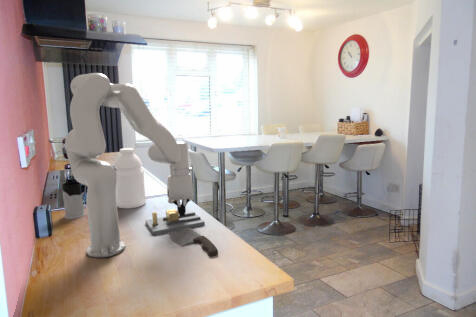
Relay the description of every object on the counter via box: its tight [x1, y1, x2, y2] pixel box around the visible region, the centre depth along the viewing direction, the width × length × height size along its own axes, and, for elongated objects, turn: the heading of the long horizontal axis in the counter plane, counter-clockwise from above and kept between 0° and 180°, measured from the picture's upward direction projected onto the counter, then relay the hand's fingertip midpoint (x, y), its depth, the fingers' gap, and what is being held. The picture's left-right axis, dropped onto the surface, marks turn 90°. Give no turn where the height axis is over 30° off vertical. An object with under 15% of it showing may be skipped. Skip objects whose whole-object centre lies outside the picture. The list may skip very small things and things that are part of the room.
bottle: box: [113, 147, 146, 209], centre depth 171 cm, size 14×14×28 cm
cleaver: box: [167, 227, 219, 257], centre depth 127 cm, size 29×10×2 cm, turn 34°
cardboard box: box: [165, 208, 179, 222], centre depth 144 cm, size 5×4×4 cm
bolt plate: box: [145, 211, 206, 236], centre depth 144 cm, size 14×21×6 cm, turn 116°
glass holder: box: [61, 181, 87, 220], centre depth 159 cm, size 9×14×15 cm, turn 130°
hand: (181, 214), depth 145 cm, fingers closed
